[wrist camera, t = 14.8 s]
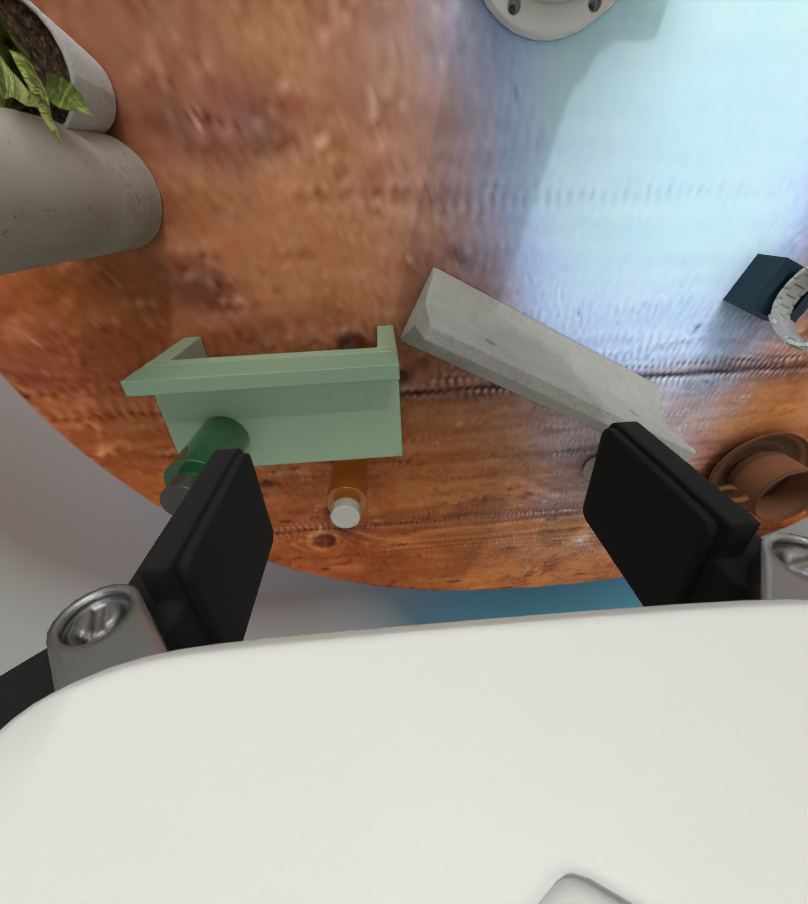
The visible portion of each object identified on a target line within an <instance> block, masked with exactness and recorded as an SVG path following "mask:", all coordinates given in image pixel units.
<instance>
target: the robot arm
mask: <svg viewBox="0 0 808 904" xmlns="http://www.w3.org/2000/svg"><path fill="white" fill-rule="evenodd" d="M483 1H484V2H485V4H486V6H487V8H488V9H489V10H490V11H491V13H492V14H493V15H494V16H495V17H496V18H497V20H498V21H499V22H500V23H501V24H502V25H504V26H505V27H507V28H508V29H509V30H511V31H512V32H513V33H515V34H517V35H520V36H522V37H525V38H527V39H530V40H540V41H550V40H556V39H562V38H565V37H567V36H570V35H572V34H574V33H577V32H579V31H581V30H582V29H584V28H585V27H586V26H588V25H589V24H591V23H592V22H593V21H595V20H596V19H597V18H599V17H600V16H601V15H602V14H603V13H604V12H605V11H606V10H607V9H609V8H610V7H611V6H612V5H613V3H614V2H615V1H616V0H483ZM589 4H591V5H592V11H590V9H589ZM510 6H511V7H513V9H514V13H513V15H511V14H510V13H509V11H508V7H510ZM583 513H584V517H585V519H586V521H587V522H588V524H589V525H590V527H591V528H592V530H593V531H594V533H595V534H596V536H597V537H598V539H599V540H600V542H601V543H602V545H603V546H604V548H605V549H606V551H607V552H608V554H609V555H610V557H611V558H612V560H613V561H614V563H615V564H616V566H617V567H618V569H619V570H620V572H621V573H622V575H623V576H624V578H625V579H626V581H627V582H628V584H629V585H630V587H631V588H632V590H633V591H634V593H635V594H636V596H637V597H638V599H639V600H640V602H641V603H642V605H643V606H644V607H634V608H621V609H608V610H595V611H583V612H568V613H556V614H543V615H531V616H519V617H508V618H507V617H506V618H495V619H482V620H469V621H458V622H445V623H434V624H421V625H411V626H398V627H387V628H375V629H364V630H353V631H342V632H330V633H318V634H307V635H296V636H287V637H276V638H267V639H258V640H248V641H243V639H244V636H245V632H246V629H247V626H248V622H249V619H250V616H251V612H252V609H253V606H254V603H255V599H256V596H257V593H258V589H259V586H260V582H261V580H262V576H263V573H264V569H265V566H266V563H267V560H268V557H269V553H270V550H271V547H272V543H273V529H272V526H271V522H270V519H269V516H268V512H267V509H266V506H265V502H264V499H263V495H262V492H261V489H260V485H259V482H258V479H257V475H256V472H255V469H254V465H253V462H252V459H251V456H250V454H248V453H243V451H242V450H241V449H240V448H233V449H219V450H216V451H215V452H214V453H213V455H212V456H211V458H210V459H209V461H208V462H207V464H206V465H205V467H204V468H203V470H202V471H201V473H200V475H199V476H198V478H197V479H196V481H195V482H194V484H193V485H192V487H191V488H190V490H189V491H188V493H187V494H186V496H185V498H184V499H183V501H182V502H181V504H180V505H179V507H178V508H177V510H176V511H175V513H174V514H173V516H172V517H171V519H170V521H169V522H168V524H167V525H166V527H165V528H164V530H163V531H162V533H161V535H160V536H159V537H158V539H157V540H156V542H155V544H154V545H153V547H152V548H151V550H150V551H149V553H148V554H147V556H146V557H145V559H144V560H143V562H142V564H141V565H140V567H139V568H138V570H137V572H136V573H135V575H134V576H133V578H132V579H131V581H130V582H129V584H113V585H109V586H104V587H101V588H98V589H96V590H94V591H91V592H89V593H87V594H85V595H84V596H82V597H80V598H79V599H77V600H75V601H74V602H73V603H71V604H70V605H69V606H68V607H67V608H65V609H64V610H63V611H62V612H61V613H60V614H59V615H58V617H57V618H56V619H55V620H54V621H53V623H52V624H51V627H50V628H49V630H48V632H47V639H46V645H47V648H46V649H45V650H43V651H41V652H40V653H38V654H36V655H35V656H33V657H31V658H30V659H28V660H26V661H25V662H23V663H21V664H20V665H18V666H16V667H15V668H13V669H11V670H10V671H8V672H6V673H5V674H3V675H1V676H0V904H808V537H805V536H800V535H796V534H792V533H774V534H769V535H768V536H766V537H764V538H763V540H762V539H761V538H760V537H759V536H758V535H757V534H755V533H756V531H757V529H758V528H759V526H760V524H761V523H760V522H759V521H757V520H756V519H755V518H754V517H752V516H751V515H750V514H749V513H748V512H746V511H745V510H744V509H743V508H742V507H740V506H739V505H738V504H737V503H736V502H734V501H733V500H732V499H731V498H729V497H728V496H727V495H726V494H725V493H723V492H722V491H721V490H720V489H719V488H717V487H716V486H715V485H714V484H713V483H711V482H710V481H709V480H708V479H706V478H705V477H704V476H703V475H702V474H700V473H699V472H698V471H697V470H696V469H694V468H693V467H692V466H691V465H690V464H688V463H687V462H686V461H685V460H683V459H682V458H681V457H680V456H679V455H677V454H676V453H675V452H674V451H673V450H671V449H670V448H669V447H668V446H667V445H665V444H664V443H663V442H662V441H660V440H659V439H658V438H657V437H656V436H654V435H653V434H652V433H651V432H650V431H648V430H647V429H646V428H645V427H644V426H642V425H641V424H640V423H638V422H637V421H630V422H616V423H612V424H611V425H610V426H609V428H606V429H605V430H604V431H603V433H602V436H601V440H600V444H599V448H598V451H597V455H596V459H595V463H594V467H593V471H592V475H591V478H590V482H589V486H588V490H587V494H586V498H585V502H584V506H583Z"/></svg>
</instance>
